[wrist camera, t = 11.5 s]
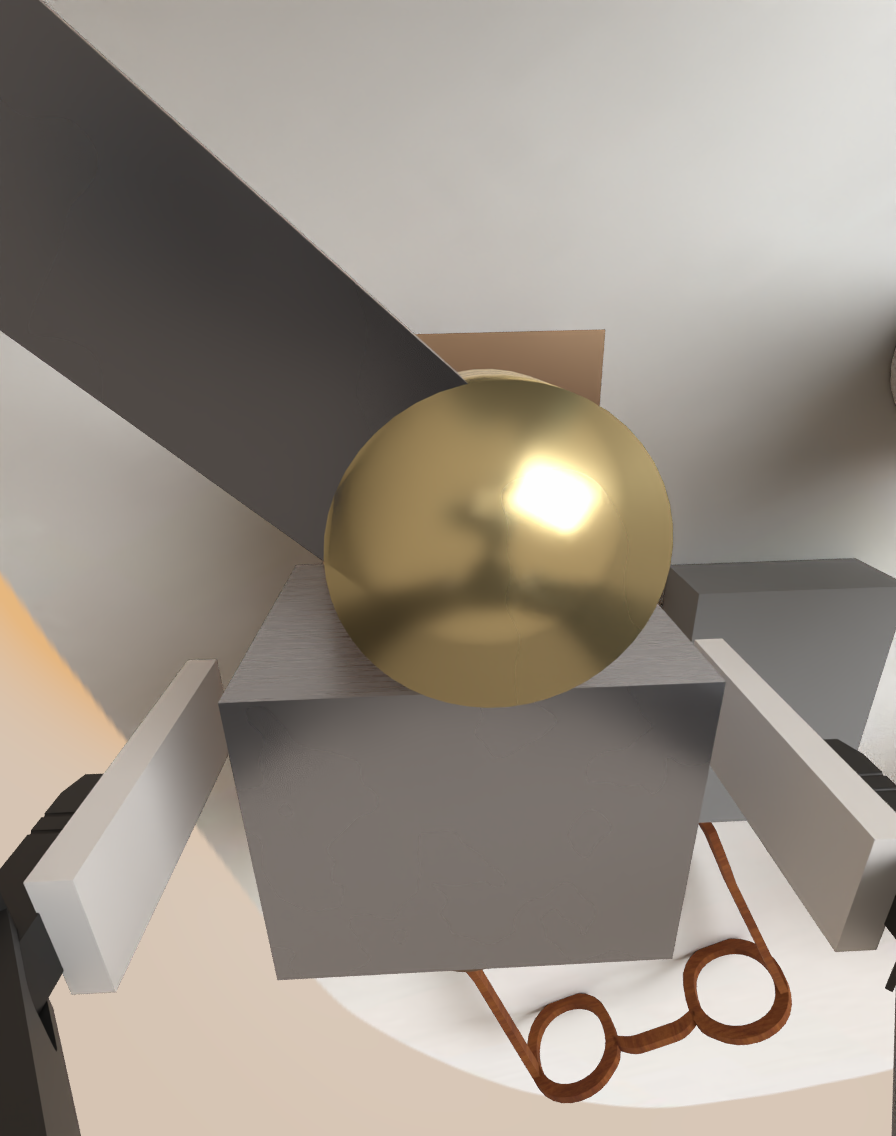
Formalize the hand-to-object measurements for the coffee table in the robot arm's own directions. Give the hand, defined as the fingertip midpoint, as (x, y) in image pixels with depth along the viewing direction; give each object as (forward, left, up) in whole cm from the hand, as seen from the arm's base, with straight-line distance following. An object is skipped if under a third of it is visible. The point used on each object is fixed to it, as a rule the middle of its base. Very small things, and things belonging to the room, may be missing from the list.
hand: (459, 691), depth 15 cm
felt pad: (+4, +12, -6) cm, 13 cm away
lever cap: (0, 0, -1) cm, 1 cm away
